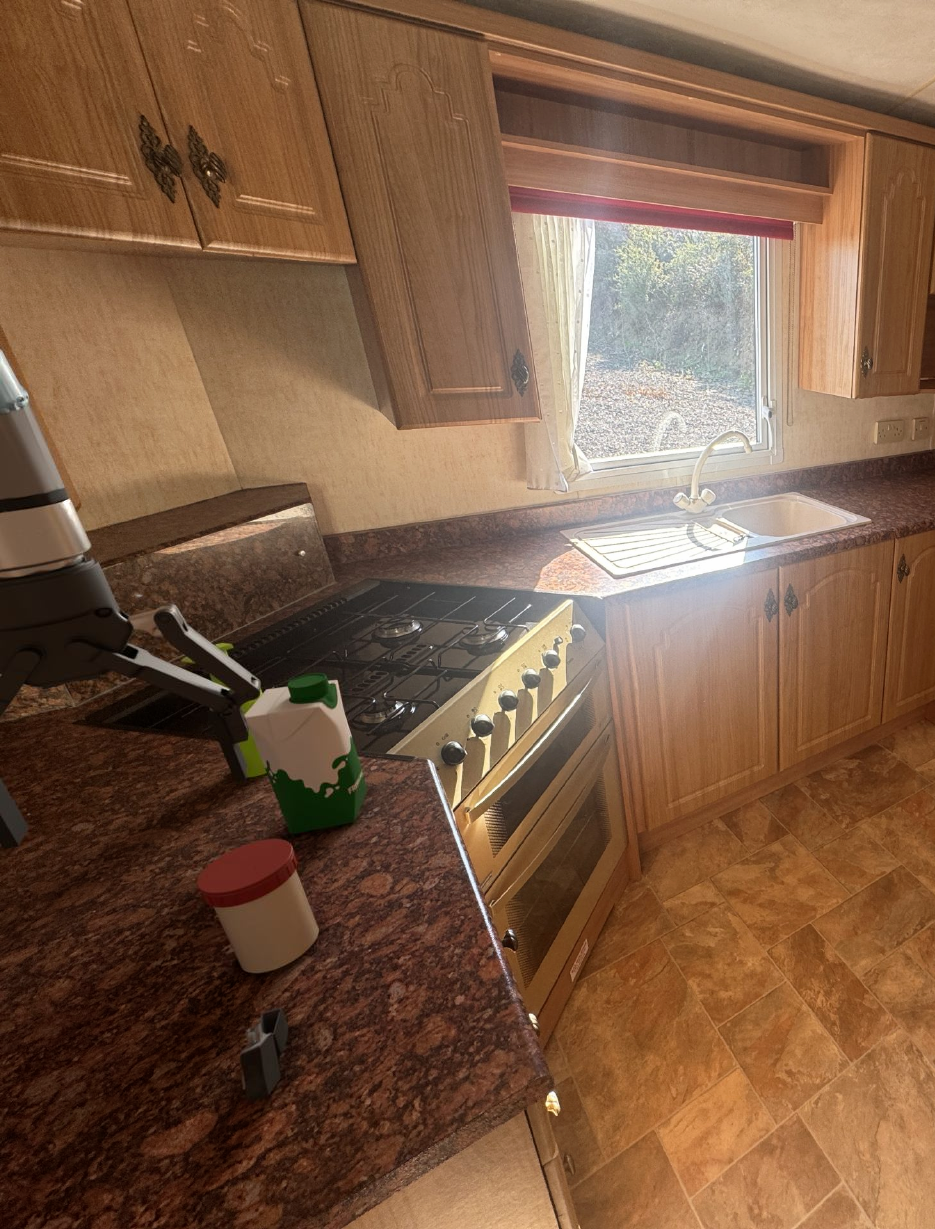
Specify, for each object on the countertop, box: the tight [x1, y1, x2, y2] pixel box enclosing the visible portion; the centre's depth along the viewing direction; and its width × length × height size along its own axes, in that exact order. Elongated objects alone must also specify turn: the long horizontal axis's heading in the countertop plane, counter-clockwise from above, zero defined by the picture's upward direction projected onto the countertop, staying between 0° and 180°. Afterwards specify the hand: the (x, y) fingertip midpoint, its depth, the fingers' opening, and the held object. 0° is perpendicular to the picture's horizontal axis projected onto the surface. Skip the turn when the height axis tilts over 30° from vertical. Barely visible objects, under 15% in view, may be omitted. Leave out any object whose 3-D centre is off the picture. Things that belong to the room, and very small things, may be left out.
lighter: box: [239, 1007, 289, 1105], centre depth 56 cm, size 8×2×5 cm
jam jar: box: [212, 869, 320, 974], centre depth 66 cm, size 7×7×11 cm
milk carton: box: [244, 672, 368, 835], centre depth 84 cm, size 9×9×20 cm
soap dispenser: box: [180, 642, 267, 778], centre depth 93 cm, size 6×7×20 cm
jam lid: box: [197, 838, 299, 908], centre depth 64 cm, size 7×7×2 cm
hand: (137, 804), depth 54 cm, fingers open, 13 cm apart
